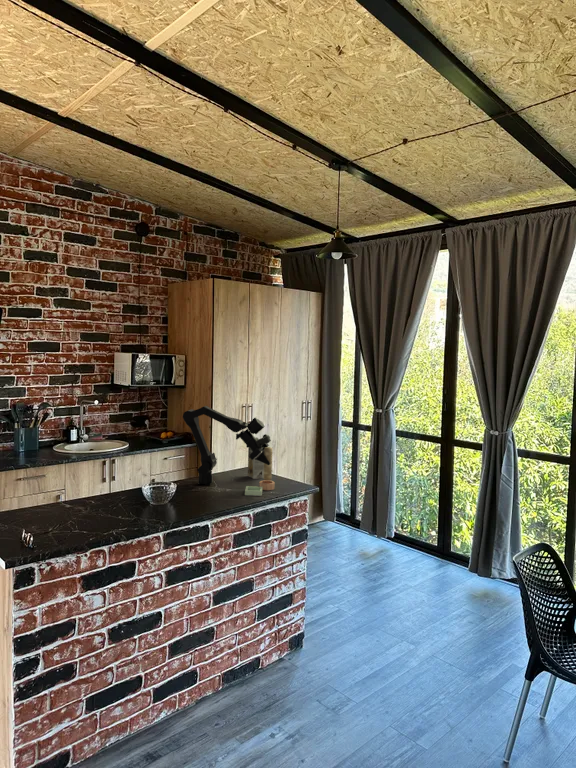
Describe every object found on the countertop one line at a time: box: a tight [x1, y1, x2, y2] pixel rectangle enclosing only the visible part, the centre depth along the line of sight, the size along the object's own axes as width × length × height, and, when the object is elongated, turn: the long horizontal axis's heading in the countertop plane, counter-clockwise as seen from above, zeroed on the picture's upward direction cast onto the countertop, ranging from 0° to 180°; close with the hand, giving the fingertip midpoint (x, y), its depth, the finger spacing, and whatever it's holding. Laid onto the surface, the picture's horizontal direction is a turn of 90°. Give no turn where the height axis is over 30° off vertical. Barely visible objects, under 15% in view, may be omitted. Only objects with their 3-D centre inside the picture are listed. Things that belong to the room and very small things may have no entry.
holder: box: [258, 479, 276, 491], centre depth 269 cm, size 8×8×4 cm
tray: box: [244, 485, 263, 497], centre depth 260 cm, size 8×8×3 cm
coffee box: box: [247, 447, 264, 480], centre depth 291 cm, size 9×6×16 cm
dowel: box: [262, 446, 273, 481], centre depth 268 cm, size 4×4×16 cm
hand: (270, 463), depth 268 cm, fingers closed on dowel, 4 cm apart
